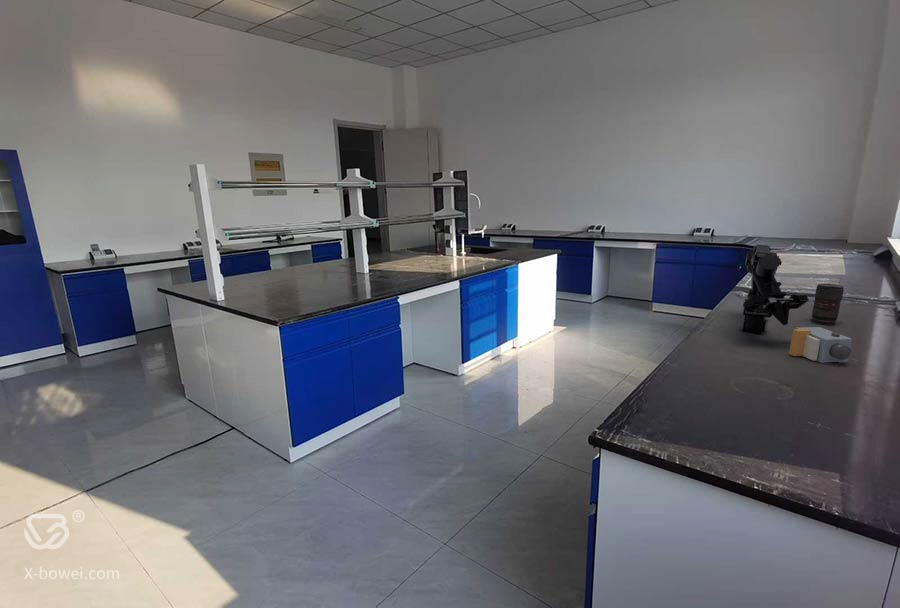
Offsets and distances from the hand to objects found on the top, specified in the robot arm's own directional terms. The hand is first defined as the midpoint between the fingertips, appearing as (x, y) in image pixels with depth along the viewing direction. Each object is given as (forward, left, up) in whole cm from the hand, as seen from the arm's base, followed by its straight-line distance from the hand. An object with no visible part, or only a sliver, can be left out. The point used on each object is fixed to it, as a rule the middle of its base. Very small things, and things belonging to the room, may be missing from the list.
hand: (785, 324), depth 147 cm
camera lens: (+2, +45, -9) cm, 46 cm away
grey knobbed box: (+10, +1, -8) cm, 13 cm away
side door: (+7, -5, -8) cm, 11 cm away
